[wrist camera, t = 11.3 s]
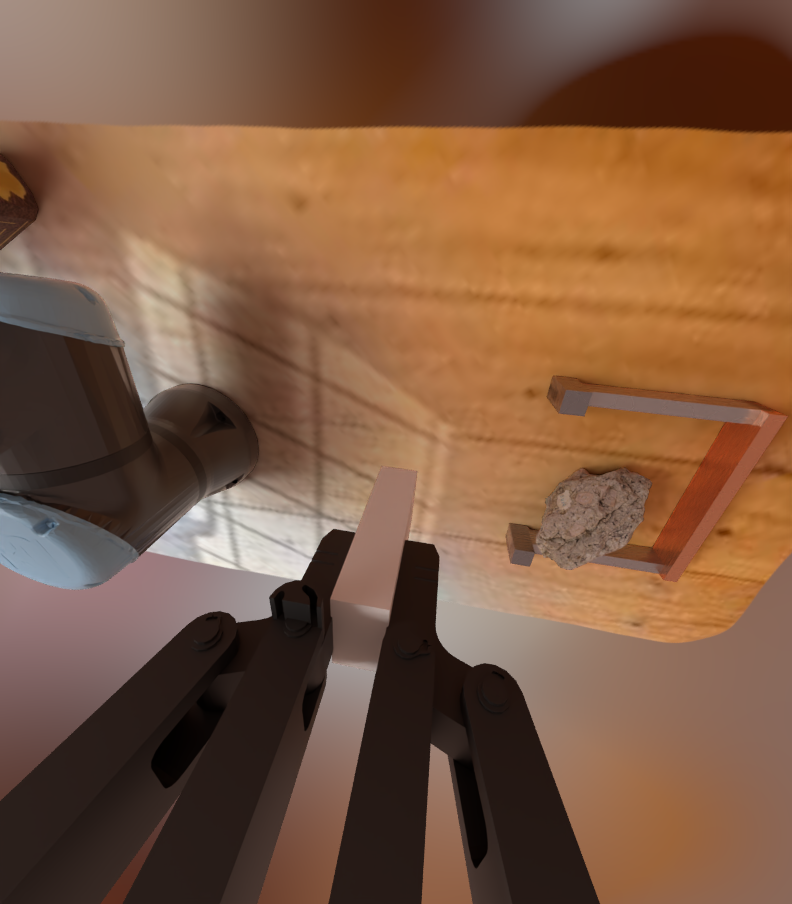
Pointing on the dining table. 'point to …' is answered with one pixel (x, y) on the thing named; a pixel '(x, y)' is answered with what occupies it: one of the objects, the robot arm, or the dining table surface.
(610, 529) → the rock
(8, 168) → the book
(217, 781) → the robot arm
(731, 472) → the frame
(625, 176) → the dining table surface
